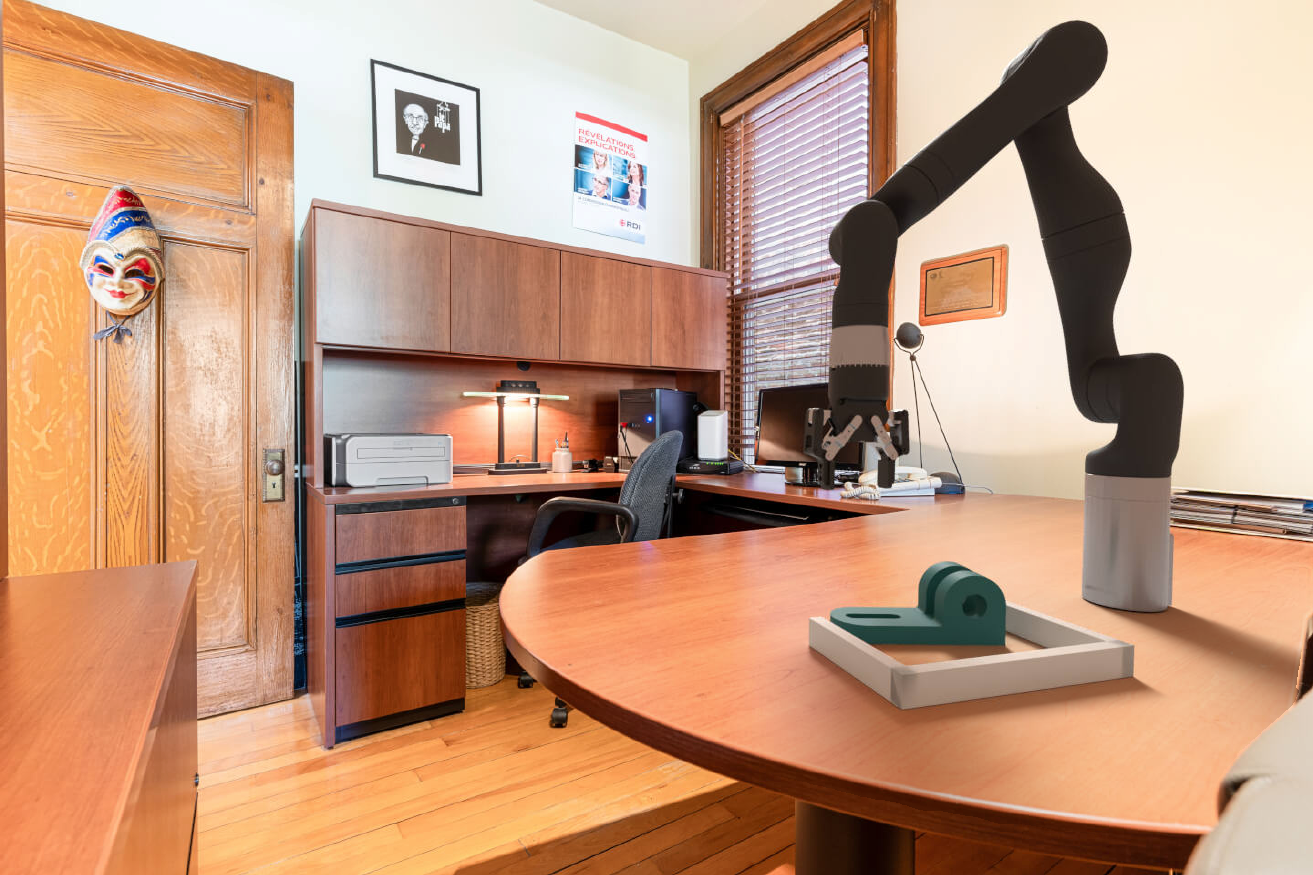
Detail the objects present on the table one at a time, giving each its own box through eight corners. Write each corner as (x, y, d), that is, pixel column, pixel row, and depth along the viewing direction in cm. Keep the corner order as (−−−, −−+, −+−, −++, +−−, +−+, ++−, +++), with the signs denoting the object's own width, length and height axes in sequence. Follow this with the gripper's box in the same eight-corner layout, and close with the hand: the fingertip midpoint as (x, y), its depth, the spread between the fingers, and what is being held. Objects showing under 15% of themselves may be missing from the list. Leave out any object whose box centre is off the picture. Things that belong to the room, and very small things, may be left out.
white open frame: (1002, 624, 74) (1003, 599, 74) (1133, 676, 59) (1134, 645, 59) (808, 644, 67) (808, 617, 67) (901, 709, 52) (902, 674, 52)
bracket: (974, 626, 74) (975, 561, 74) (1005, 647, 67) (1006, 575, 67) (823, 625, 75) (824, 560, 74) (839, 645, 68) (840, 574, 68)
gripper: (887, 368, 86) (885, 484, 86) (795, 364, 82) (793, 486, 82) (925, 363, 79) (922, 491, 79) (825, 359, 75) (823, 493, 75)
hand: (856, 488), depth 81 cm, fingers open, 8 cm apart
